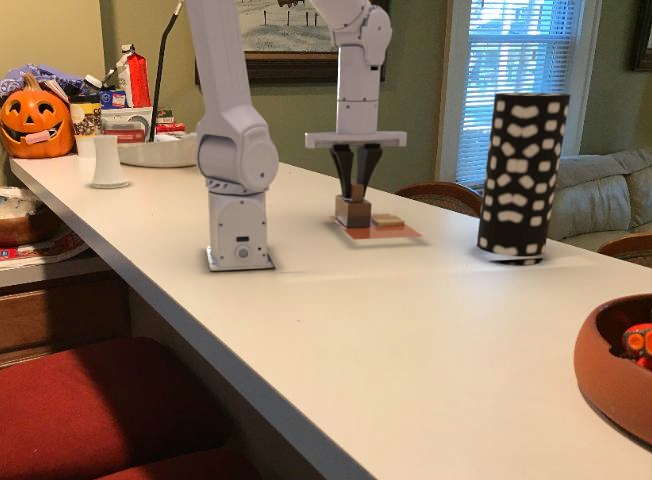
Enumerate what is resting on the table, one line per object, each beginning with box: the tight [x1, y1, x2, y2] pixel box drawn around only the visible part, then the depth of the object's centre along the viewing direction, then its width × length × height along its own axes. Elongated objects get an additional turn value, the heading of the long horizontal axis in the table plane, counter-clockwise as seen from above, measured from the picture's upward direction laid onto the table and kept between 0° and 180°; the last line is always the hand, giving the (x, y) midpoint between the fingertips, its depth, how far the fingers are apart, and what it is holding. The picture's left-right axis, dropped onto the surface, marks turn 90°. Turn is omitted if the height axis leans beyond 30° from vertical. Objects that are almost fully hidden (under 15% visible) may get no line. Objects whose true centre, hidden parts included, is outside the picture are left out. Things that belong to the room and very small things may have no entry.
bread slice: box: [371, 214, 406, 227], centre depth 91 cm, size 4×4×1 cm
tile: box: [328, 213, 423, 241], centre depth 90 cm, size 14×10×1 cm
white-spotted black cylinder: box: [476, 92, 571, 266], centre depth 76 cm, size 8×8×20 cm
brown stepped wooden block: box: [334, 178, 373, 228], centre depth 90 cm, size 7×4×6 cm, turn 9°
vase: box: [90, 134, 129, 189], centre depth 126 cm, size 8×8×10 cm
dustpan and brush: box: [117, 131, 197, 169], centre depth 150 cm, size 23×33×10 cm
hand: (353, 196), depth 90 cm, fingers closed on brown stepped wooden block, 2 cm apart
